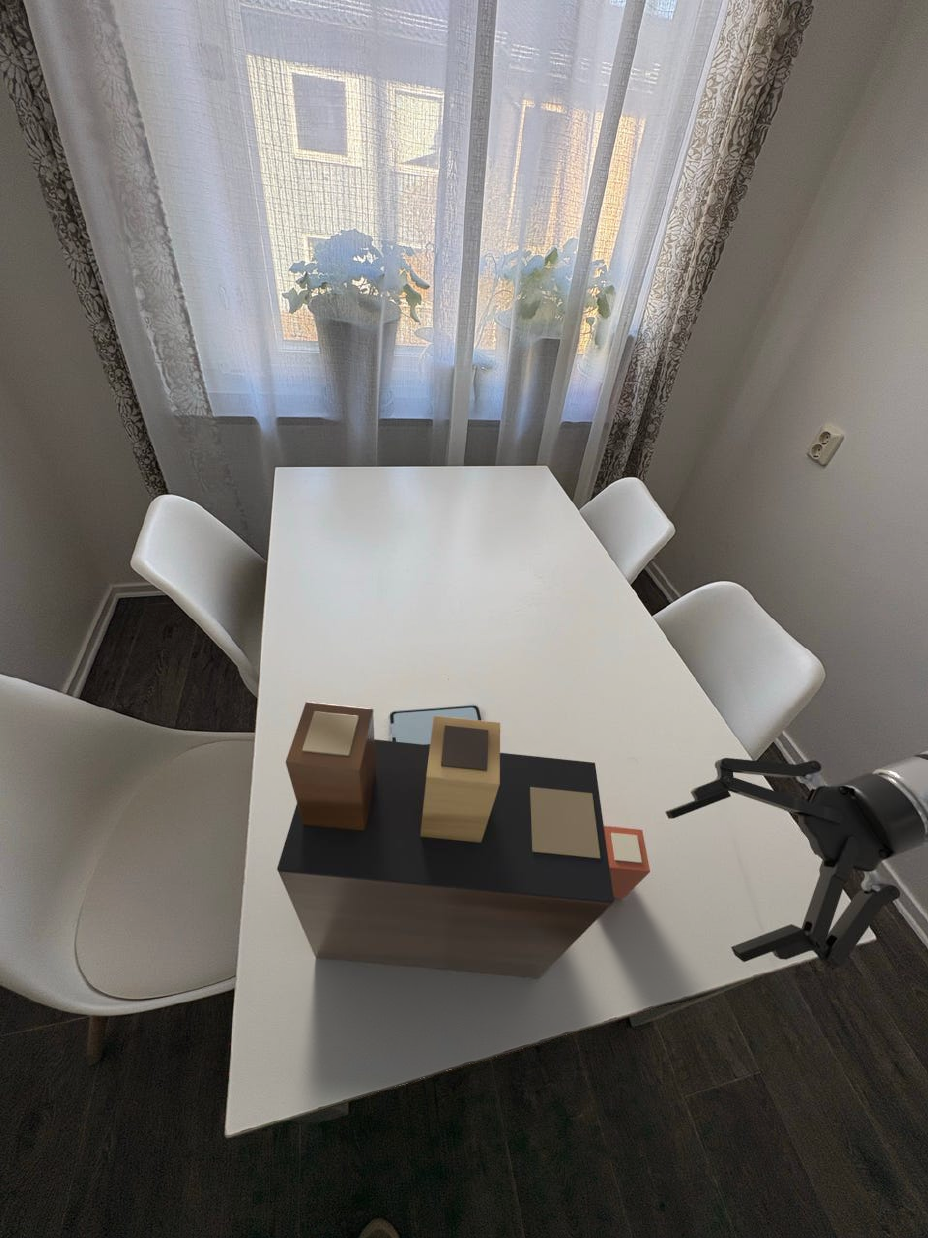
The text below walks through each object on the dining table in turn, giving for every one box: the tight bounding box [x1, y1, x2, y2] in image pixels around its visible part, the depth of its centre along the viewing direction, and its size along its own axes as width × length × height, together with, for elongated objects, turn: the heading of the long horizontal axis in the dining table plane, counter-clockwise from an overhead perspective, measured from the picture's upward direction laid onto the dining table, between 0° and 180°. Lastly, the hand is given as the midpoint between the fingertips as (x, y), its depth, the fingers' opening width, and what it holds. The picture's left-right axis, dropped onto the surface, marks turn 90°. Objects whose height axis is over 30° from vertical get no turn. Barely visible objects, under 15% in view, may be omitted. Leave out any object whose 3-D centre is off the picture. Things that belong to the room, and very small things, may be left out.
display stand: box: [277, 870, 613, 980], centre depth 53 cm, size 12×26×28 cm, turn 87°
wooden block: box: [285, 701, 376, 831], centre depth 39 cm, size 5×5×10 cm
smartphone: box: [388, 704, 484, 745], centre depth 81 cm, size 7×1×15 cm
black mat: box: [276, 738, 615, 905], centre depth 43 cm, size 12×26×1 cm, turn 87°
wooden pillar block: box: [420, 716, 501, 843], centre depth 40 cm, size 5×5×10 cm
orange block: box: [604, 825, 651, 900], centre depth 65 cm, size 5×5×10 cm
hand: (701, 881), depth 53 cm, fingers open, 13 cm apart
